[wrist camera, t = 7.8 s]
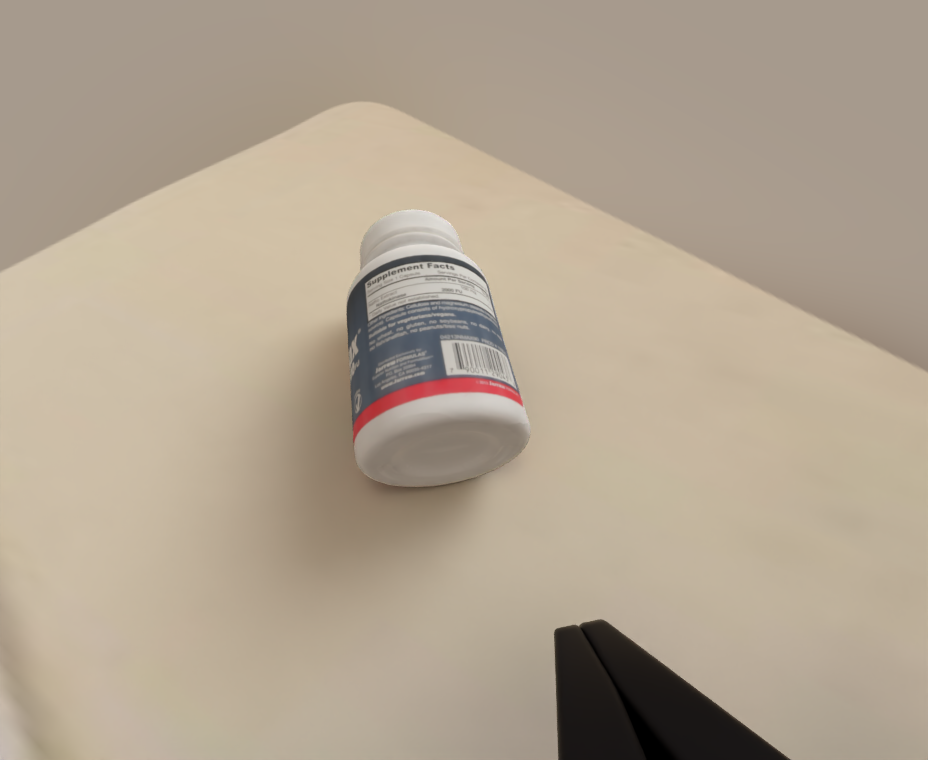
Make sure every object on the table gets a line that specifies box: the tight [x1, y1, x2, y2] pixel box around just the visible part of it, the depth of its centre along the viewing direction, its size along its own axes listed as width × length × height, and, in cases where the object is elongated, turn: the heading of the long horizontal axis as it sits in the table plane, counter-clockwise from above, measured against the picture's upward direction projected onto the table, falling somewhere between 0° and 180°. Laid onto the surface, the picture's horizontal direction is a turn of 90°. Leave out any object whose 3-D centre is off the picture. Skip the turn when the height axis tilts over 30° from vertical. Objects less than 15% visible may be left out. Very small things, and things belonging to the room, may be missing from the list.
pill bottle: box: [347, 209, 530, 487], centre depth 15 cm, size 5×5×9 cm
